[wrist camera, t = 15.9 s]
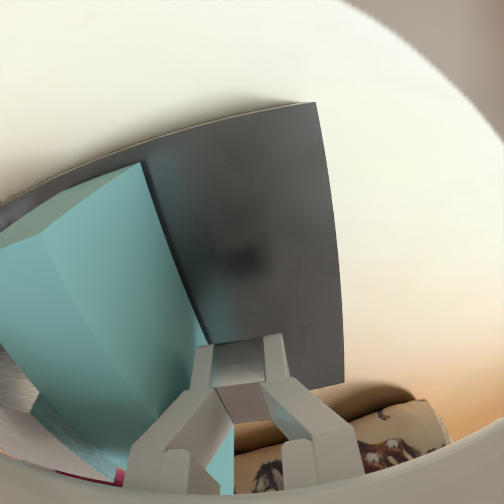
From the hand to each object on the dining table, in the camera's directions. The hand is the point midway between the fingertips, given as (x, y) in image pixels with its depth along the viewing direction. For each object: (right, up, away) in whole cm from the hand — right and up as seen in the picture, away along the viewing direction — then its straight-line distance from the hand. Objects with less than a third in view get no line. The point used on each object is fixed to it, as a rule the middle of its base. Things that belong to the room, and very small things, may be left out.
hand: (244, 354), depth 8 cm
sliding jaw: (-3, 0, +2) cm, 4 cm away
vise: (-6, +1, +4) cm, 7 cm away
